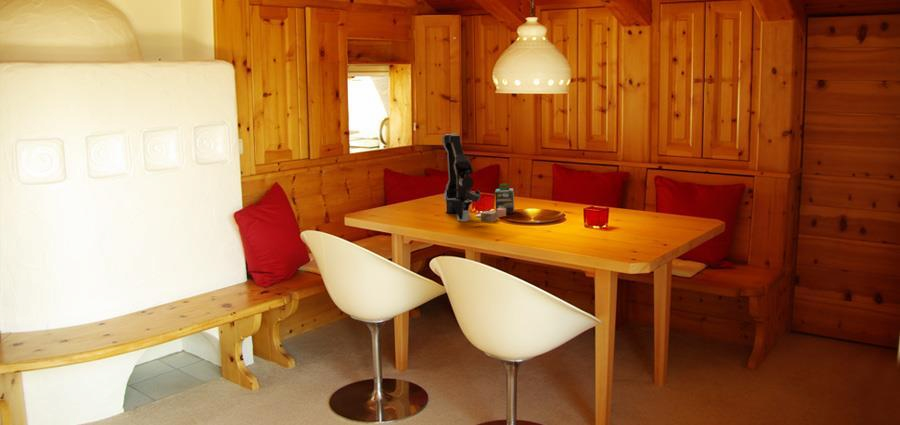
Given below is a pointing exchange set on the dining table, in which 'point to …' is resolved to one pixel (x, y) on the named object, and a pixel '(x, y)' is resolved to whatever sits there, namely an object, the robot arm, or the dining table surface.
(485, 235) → the dining table surface
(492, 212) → the walnut block
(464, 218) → the blue cube
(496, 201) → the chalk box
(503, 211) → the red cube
